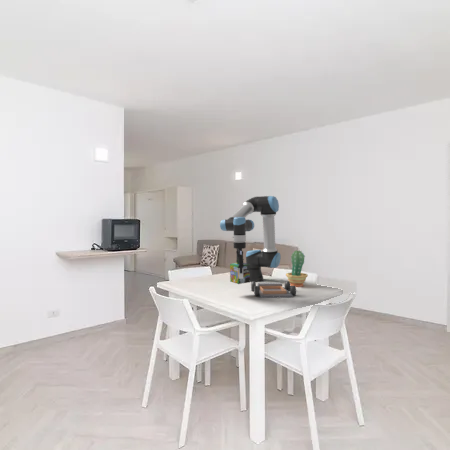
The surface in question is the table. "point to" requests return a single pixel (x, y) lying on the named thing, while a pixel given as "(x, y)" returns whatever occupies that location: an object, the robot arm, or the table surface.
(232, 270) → the chalk box
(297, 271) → the potted cactus
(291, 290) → the chassis
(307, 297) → the table surface
